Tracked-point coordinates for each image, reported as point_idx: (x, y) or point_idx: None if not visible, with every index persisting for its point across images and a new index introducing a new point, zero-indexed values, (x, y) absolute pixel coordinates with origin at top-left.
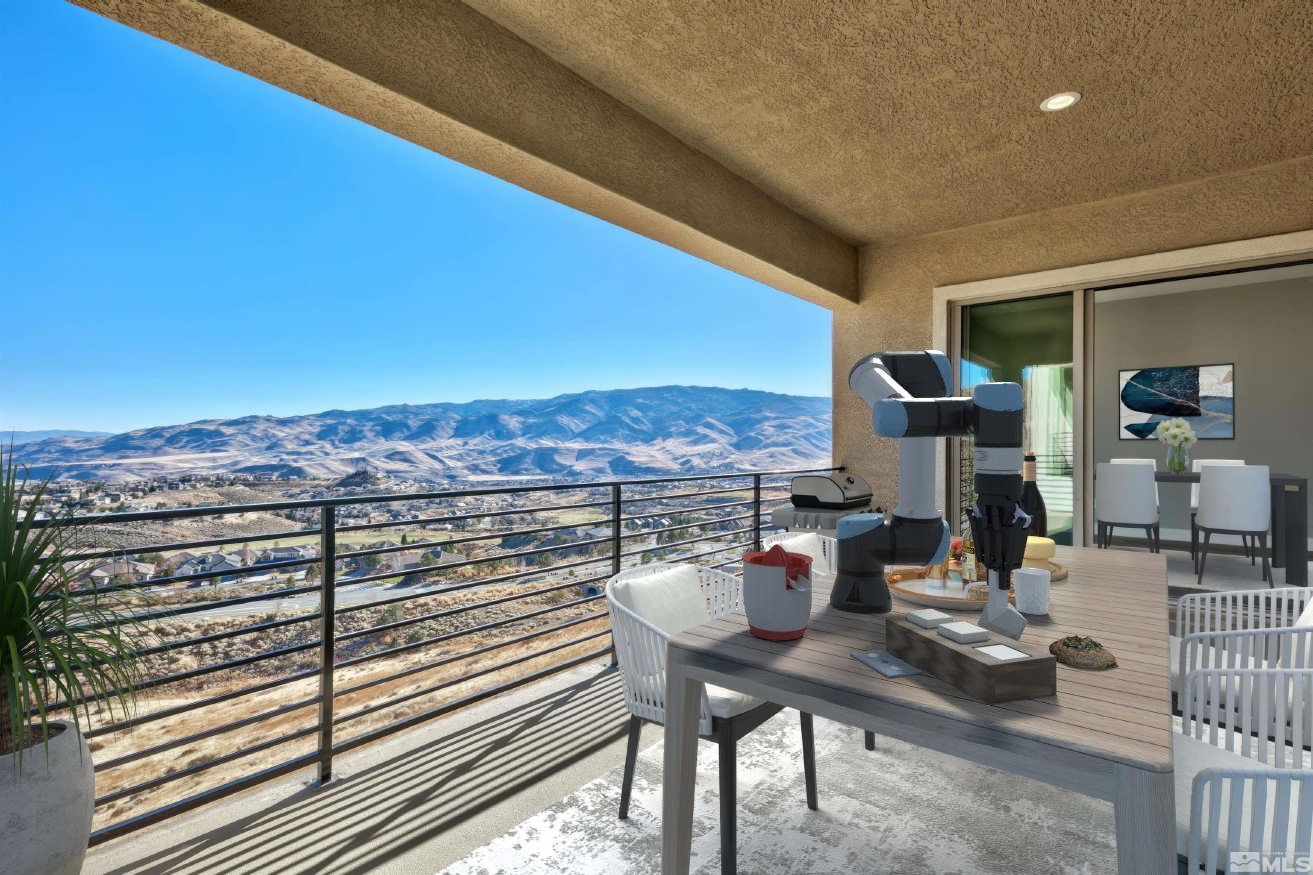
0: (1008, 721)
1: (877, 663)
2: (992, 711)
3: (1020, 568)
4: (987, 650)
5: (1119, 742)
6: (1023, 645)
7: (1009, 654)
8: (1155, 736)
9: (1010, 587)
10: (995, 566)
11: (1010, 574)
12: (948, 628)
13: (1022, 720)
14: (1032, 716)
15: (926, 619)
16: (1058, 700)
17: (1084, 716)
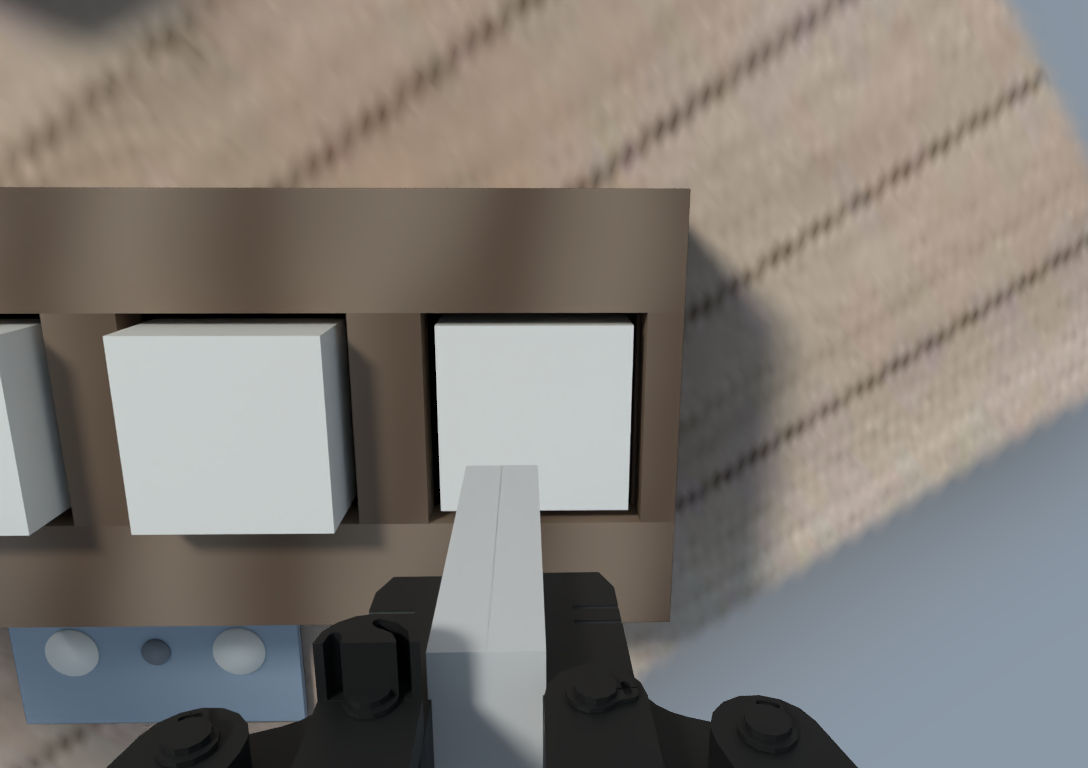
0: (768, 570)
1: (167, 687)
2: (687, 563)
3: (786, 703)
4: None
5: (1035, 343)
6: (489, 220)
7: (577, 410)
8: (1070, 167)
9: (613, 587)
10: (427, 763)
11: (631, 671)
12: (219, 530)
13: (781, 519)
14: (771, 461)
15: (21, 534)
16: (703, 238)
17: (849, 272)
